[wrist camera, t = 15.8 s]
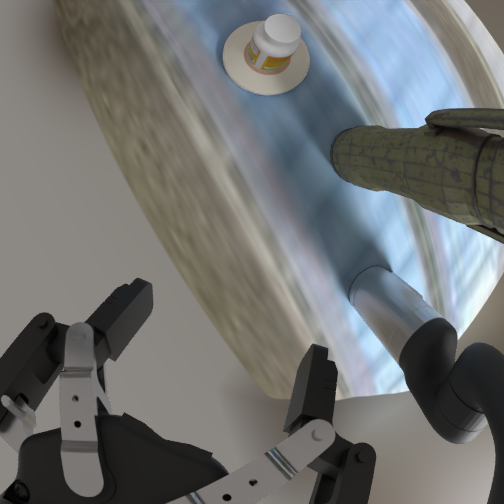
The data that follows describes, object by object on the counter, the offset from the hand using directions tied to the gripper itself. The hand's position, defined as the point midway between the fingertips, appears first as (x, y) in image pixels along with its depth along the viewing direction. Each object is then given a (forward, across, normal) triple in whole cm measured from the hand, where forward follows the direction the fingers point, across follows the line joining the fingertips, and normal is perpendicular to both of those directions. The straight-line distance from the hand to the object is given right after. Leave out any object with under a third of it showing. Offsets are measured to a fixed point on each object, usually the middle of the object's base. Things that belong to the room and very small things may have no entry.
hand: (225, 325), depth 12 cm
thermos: (+35, -7, -4) cm, 36 cm away
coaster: (+32, +9, -14) cm, 36 cm away
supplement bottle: (+30, +8, -15) cm, 35 cm away
